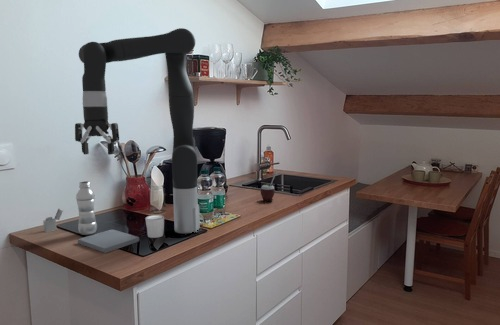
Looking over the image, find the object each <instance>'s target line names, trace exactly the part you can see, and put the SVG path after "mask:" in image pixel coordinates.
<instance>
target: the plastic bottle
mask: <svg viewBox="0 0 500 325" xmlns="http://www.w3.org/2000/svg"><path fill="white" fill-rule="evenodd" d="M78 184H79V186H78V188H79V189H78V191H77V192H76V194H75V195H76V196H75V199H76V204H77V209H78V226H77V227H78V228H77V229H78V233H79V234H80V235H82V236H91V235H94V234H96V232H97V230H98V224H97V221H96V216H95V201H96V200H95V199H96V198H95V193H94V192H93V190H92V189H91V182H90V181H88V180H87V181H80V182H79V183H78Z"/></svg>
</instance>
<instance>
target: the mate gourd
mask: <svg viewBox="0 0 500 325" xmlns="http://www.w3.org/2000/svg"><path fill="white" fill-rule="evenodd" d="M279 173H280V171H278V172H276V173H274V175H273V176H272V179H271V182H270V184H263V185H262V186H261V187H260V195H261V197H262V203H263V202H264V203H265V201H266V202H268V201H269V203H272V202H273V197H274V196H275V192H276V191H275V186H274V185H273V183H274V182H273V181H274V179H275V178H276V176H277V175H278V174H279Z"/></svg>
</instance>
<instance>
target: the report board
mask: <svg viewBox="0 0 500 325" xmlns="http://www.w3.org/2000/svg"><path fill="white" fill-rule="evenodd" d="M139 242H140V237H139V236H136V235H133V234H130V233H126V232H123V231H119V230H116V229H109V230H105V231H101V232H98V233H94V234H90V235H86V236H84V237H82V238H78V239H77V243H78V244H79V245H82V246H85V247H88V248H91V249H93V250H97V251H99V252H102V253H105V254H106V253H109V252H111V251H116V250H118V249H120V248H123V247H127V246H130V245H132V244H135V243H139Z"/></svg>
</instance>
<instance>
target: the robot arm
mask: <svg viewBox="0 0 500 325" xmlns="http://www.w3.org/2000/svg"><path fill="white" fill-rule="evenodd" d="M195 46H196V38H195V35H194V34H193V33H192V32H191V31H190V30H189V29H186V28H183V27H182V28H181V27H180V28H176V29H173V30H171V31H168V32H166V33H161V34H157V35H152V36H151V35H150V36H139V37H129V38H120V39H114V40H110V41H107V42H97V41H90V42H89V41H88V42H87V43H85V44H83V45H82V46H81V47H80V48H79V50H78V57H79V60H80V62H81V63H83V74H82V77H81V78H82V79H81V81H82V82H81V83H82V109H83V110H82V112H83V113H82V114H83V121H84V123H82V122H79V123H75V124H74V139H75V140H74V141H75V142H78V143H80V144H81V152H82V153H83V155H89V153H90V152H89V143H88V141H89V140H90V138H92V137H102V138H103V139H104V140H105V141H106V142H107V144H106V145H107V155H109V156H110V155H113V154H114V153H115V143H116V142H119V141H120V133H119V125H118V123H117V122H114V123H113V122H112V123H109V122H108V121H109V112H108V111H109V109H108V108H109V107H108V97H107V92H106V90H107V89H106V77H105V76H106V69H107V68H106V67H107V64H108V63H113V62H114V63H115V62H124V61H125V62H126V61H131V60H137V59H141V58H147V57H149V56H155V55H160V54H164V55H165V61H166V67H167V82H168V83H167V88H168V107H169V114H170V120H171V121H170V122H171V125H172V126H171V127H172V131H173V132H172V133H173V135H172V136H173V143H172V144H173V145H172V154H171V171H172V173H171V174H172V194H173V196H172V197H173V201H172V202H173V221H174V225H173V227H174V228H173V229H174V232H175V233H177V234H191V233H192V232H194V233H195V232H196V233H197V232H198V231H199V230H200V226H201V225H200V223H201V222H200V219H201V218H200V204H198V202H199V200H198V199H199V198H198V156H197V155H198V154H197V152H196V149H195V143H194V134H193V129H194V120H195V119H194V118H195V98H194V89H193V85H192V84H191V81H190V78H189V76H188V73H187V67H186V66H187V65H186V55H188V54H190V53H191V52H192V51H193V50H194V48H195ZM84 129H85V133H84V134H83V130H84ZM109 129H110V131H111V133H110V131H109ZM197 230H198V231H197Z"/></svg>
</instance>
